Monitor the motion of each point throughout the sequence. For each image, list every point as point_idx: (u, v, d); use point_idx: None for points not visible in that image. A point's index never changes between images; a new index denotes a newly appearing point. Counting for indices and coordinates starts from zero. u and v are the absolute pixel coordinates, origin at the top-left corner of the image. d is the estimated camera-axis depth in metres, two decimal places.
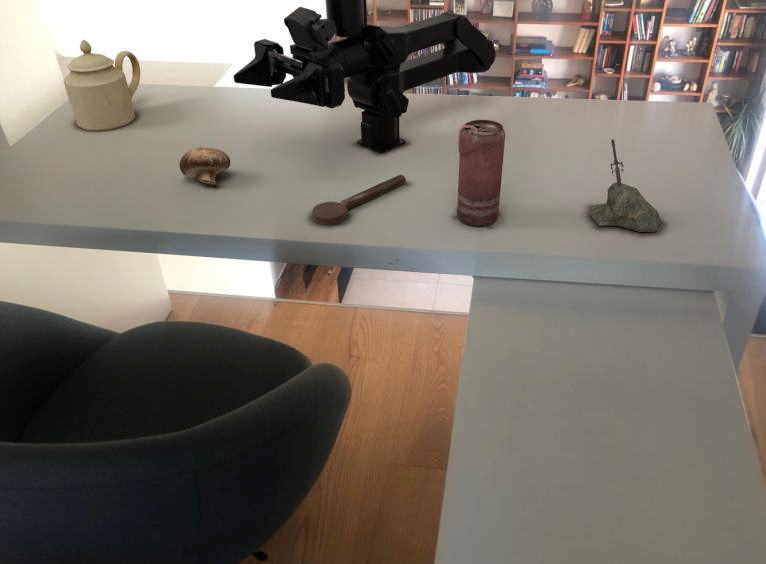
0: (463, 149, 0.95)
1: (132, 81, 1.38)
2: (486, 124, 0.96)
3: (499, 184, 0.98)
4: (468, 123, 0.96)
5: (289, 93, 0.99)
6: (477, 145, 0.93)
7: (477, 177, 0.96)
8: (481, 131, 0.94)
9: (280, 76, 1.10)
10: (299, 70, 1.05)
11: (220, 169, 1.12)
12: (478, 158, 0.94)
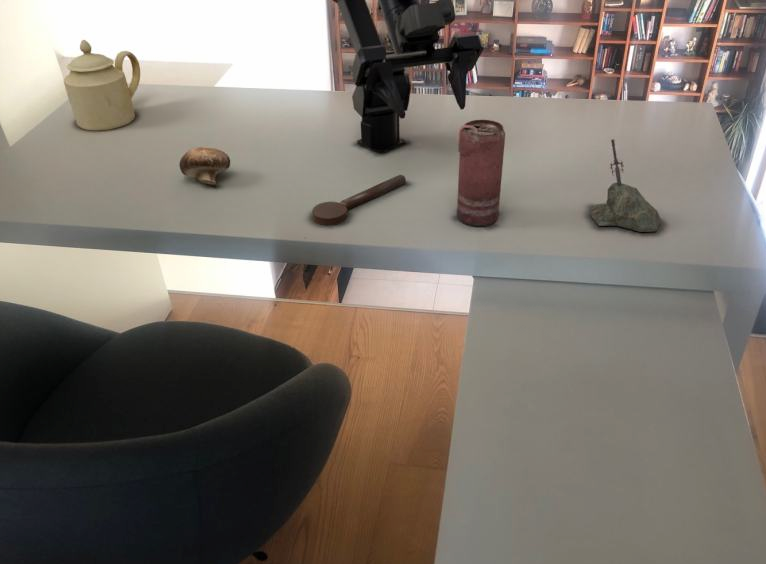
0: (463, 149, 0.95)
1: (132, 81, 1.38)
2: (486, 124, 0.96)
3: (499, 184, 0.98)
4: (468, 123, 0.96)
5: None
6: (477, 145, 0.93)
7: (477, 177, 0.96)
8: (481, 131, 0.94)
9: None
10: (422, 58, 1.00)
11: (220, 169, 1.12)
12: (478, 158, 0.94)
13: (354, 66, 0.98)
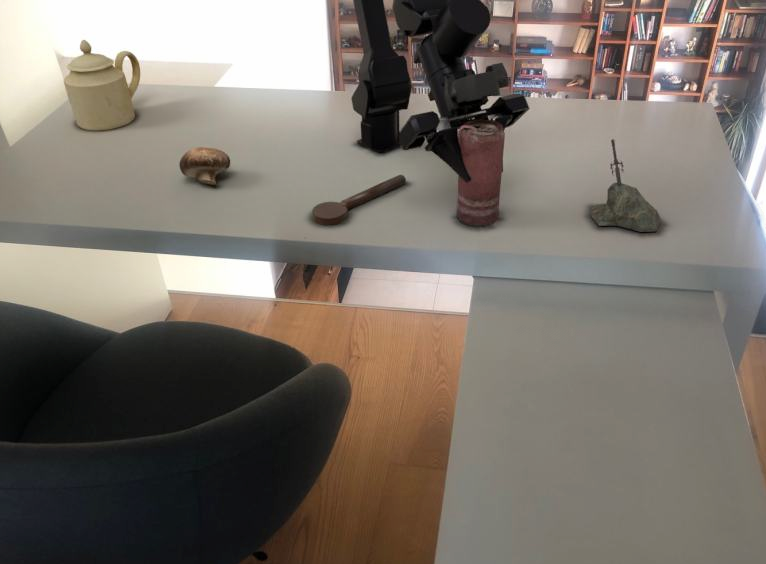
0: (463, 149, 0.95)
1: (132, 81, 1.38)
2: (485, 124, 0.96)
3: (499, 184, 0.98)
4: (467, 123, 0.96)
5: None
6: (477, 146, 0.93)
7: (477, 177, 0.96)
8: (481, 131, 0.94)
9: None
10: (469, 120, 0.98)
11: (220, 169, 1.12)
12: (478, 158, 0.94)
13: (403, 132, 0.95)
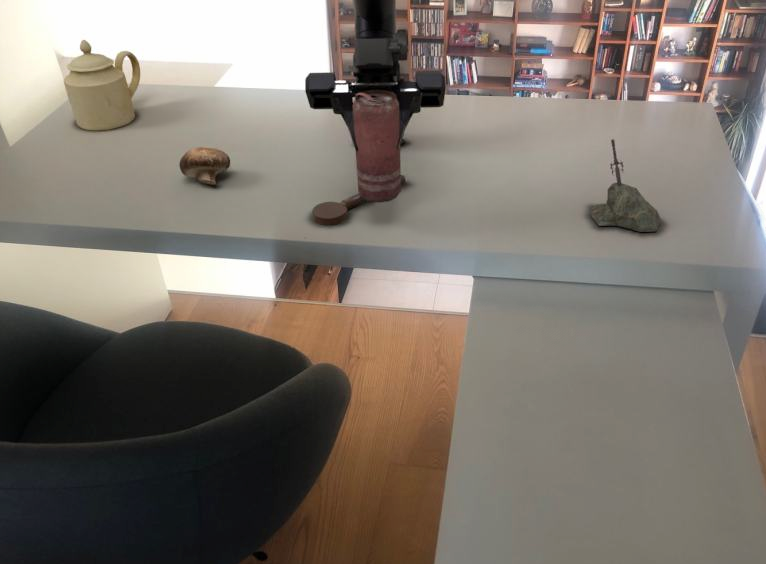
0: (353, 117, 0.92)
1: (132, 81, 1.38)
2: (386, 96, 0.92)
3: (389, 161, 0.94)
4: (369, 92, 0.93)
5: (402, 133, 0.94)
6: (359, 114, 0.90)
7: (362, 148, 0.93)
8: (372, 101, 0.90)
9: None
10: None
11: (220, 169, 1.12)
12: (360, 128, 0.91)
13: None
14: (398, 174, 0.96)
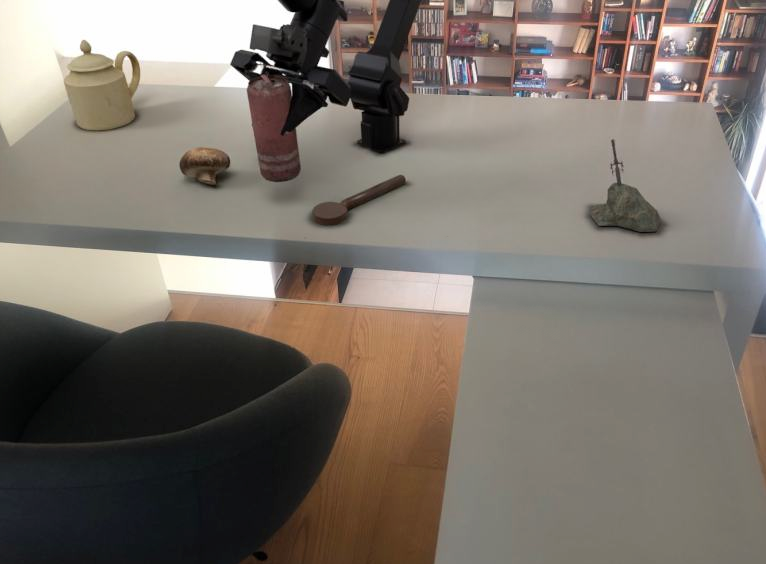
0: None
1: (132, 81, 1.38)
2: (281, 82, 0.97)
3: (272, 143, 0.99)
4: (275, 76, 0.98)
5: (294, 122, 0.99)
6: (247, 93, 0.97)
7: None
8: (263, 84, 0.97)
9: None
10: (291, 77, 0.99)
11: (220, 169, 1.12)
12: None
13: None
14: (286, 159, 1.01)
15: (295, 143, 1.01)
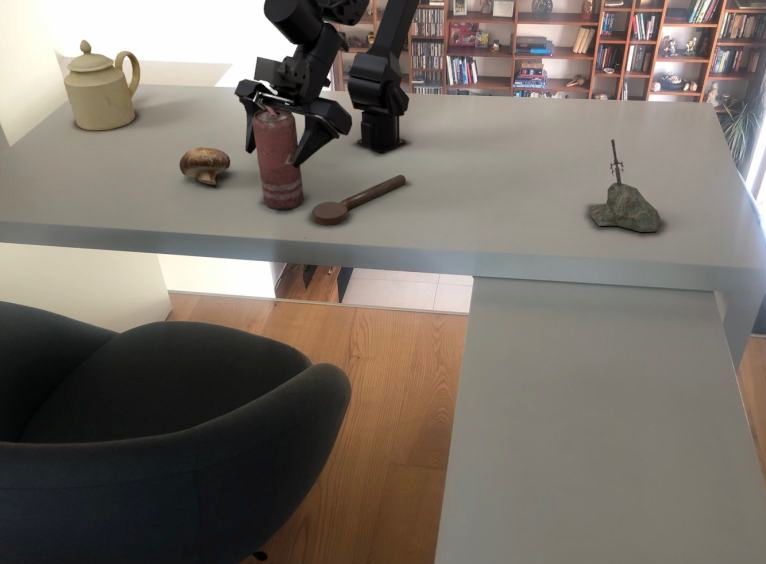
0: None
1: (132, 81, 1.38)
2: (286, 115, 1.00)
3: (276, 173, 1.02)
4: (280, 108, 1.01)
5: (307, 153, 1.00)
6: (253, 125, 1.00)
7: None
8: (269, 116, 1.00)
9: None
10: (294, 107, 1.02)
11: (220, 169, 1.12)
12: (255, 138, 1.01)
13: None
14: (289, 188, 1.04)
15: (298, 173, 1.04)
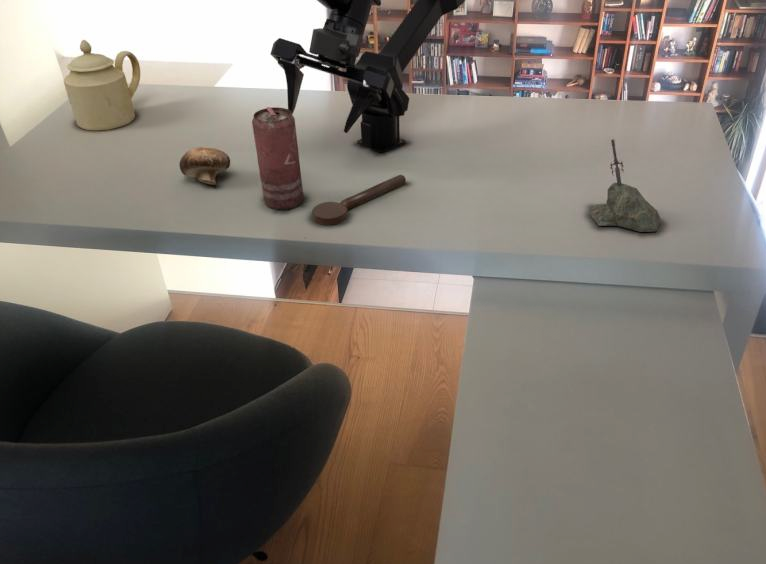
0: None
1: (132, 81, 1.38)
2: (285, 115, 1.00)
3: (275, 173, 1.02)
4: (280, 108, 1.01)
5: (355, 118, 1.08)
6: (252, 125, 1.00)
7: (257, 156, 1.03)
8: (268, 116, 1.00)
9: None
10: (336, 71, 1.06)
11: (220, 169, 1.12)
12: (254, 138, 1.01)
13: None
14: (289, 188, 1.04)
15: (298, 173, 1.04)
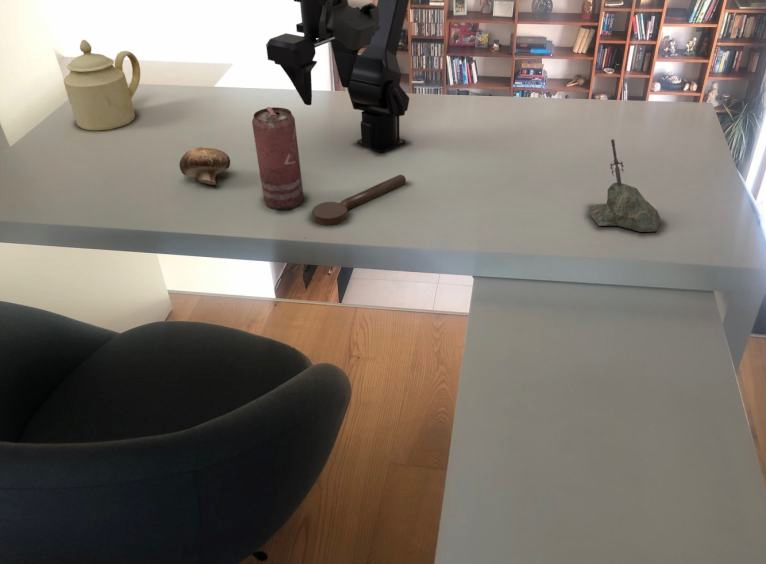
0: None
1: (132, 81, 1.38)
2: (285, 115, 1.00)
3: (275, 173, 1.02)
4: (280, 108, 1.01)
5: None
6: None
7: (257, 156, 1.03)
8: (268, 116, 1.00)
9: None
10: None
11: (220, 169, 1.12)
12: None
13: (277, 50, 0.96)
14: (289, 188, 1.04)
15: (298, 173, 1.04)
